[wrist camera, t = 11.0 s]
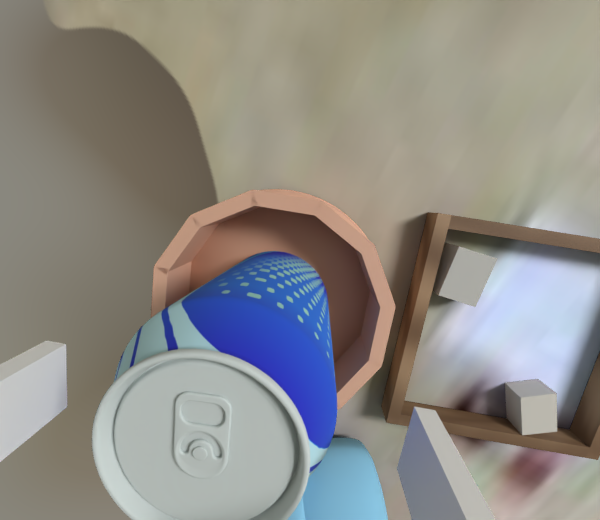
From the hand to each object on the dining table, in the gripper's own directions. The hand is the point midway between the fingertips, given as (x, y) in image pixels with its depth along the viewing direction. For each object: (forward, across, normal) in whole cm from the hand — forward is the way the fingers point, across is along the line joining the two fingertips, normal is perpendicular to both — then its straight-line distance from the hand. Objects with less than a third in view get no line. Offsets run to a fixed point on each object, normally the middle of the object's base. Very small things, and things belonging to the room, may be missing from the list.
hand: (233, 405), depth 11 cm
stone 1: (+15, +14, +4) cm, 21 cm away
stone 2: (+15, +23, -6) cm, 28 cm away
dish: (+15, 0, -1) cm, 15 cm away
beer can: (+14, 0, -1) cm, 14 cm away
